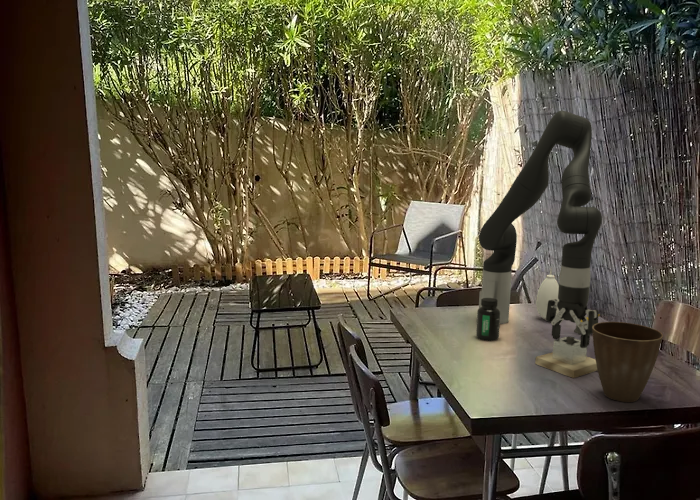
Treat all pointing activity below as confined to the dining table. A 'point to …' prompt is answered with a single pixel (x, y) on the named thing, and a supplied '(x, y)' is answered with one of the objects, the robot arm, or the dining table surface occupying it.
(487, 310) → the supplement bottle
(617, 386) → the plant pot
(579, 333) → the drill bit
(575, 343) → the collar
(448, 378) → the dining table surface
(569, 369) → the post block
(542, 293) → the white vase
